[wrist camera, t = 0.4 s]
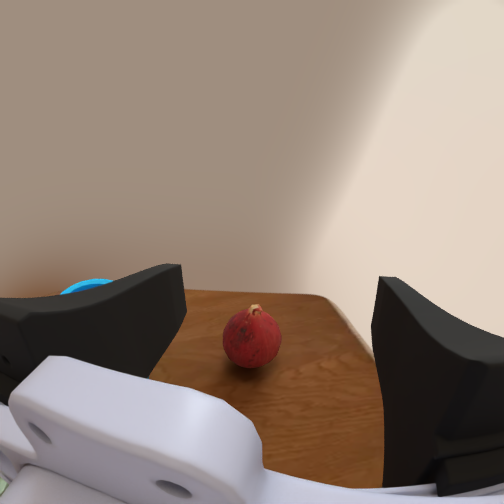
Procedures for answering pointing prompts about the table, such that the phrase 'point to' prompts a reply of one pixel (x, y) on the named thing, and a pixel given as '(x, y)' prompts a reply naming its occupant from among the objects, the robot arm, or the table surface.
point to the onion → (251, 338)
